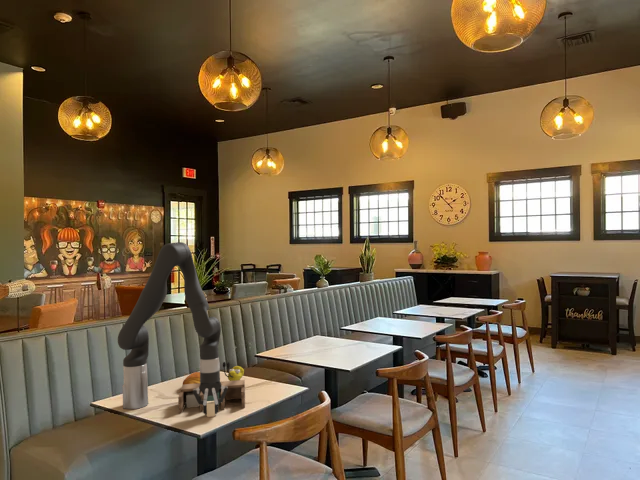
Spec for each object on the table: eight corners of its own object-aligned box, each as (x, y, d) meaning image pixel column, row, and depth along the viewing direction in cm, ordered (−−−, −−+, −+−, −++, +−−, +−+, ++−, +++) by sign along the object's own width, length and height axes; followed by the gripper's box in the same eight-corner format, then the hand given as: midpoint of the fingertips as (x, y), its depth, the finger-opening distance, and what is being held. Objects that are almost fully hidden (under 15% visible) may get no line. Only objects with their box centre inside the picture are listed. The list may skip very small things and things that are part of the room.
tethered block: (204, 417, 180) (203, 404, 180) (208, 401, 197) (207, 389, 197) (217, 416, 180) (217, 403, 180) (220, 400, 198) (219, 388, 198)
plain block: (186, 407, 191) (186, 395, 191) (188, 403, 196) (187, 391, 196) (199, 406, 192) (198, 394, 192) (200, 402, 197) (200, 390, 197)
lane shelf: (178, 413, 185) (178, 394, 185) (183, 402, 198) (182, 384, 198) (244, 407, 188) (244, 389, 188) (245, 397, 202) (244, 379, 202)
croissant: (178, 397, 211) (176, 380, 210) (192, 382, 226) (190, 366, 225) (209, 397, 209) (207, 380, 208) (220, 381, 224) (218, 365, 223)
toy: (248, 358, 218) (231, 362, 204) (247, 389, 216) (230, 395, 202) (236, 357, 220) (219, 361, 206) (235, 388, 218) (218, 394, 205)
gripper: (190, 373, 177) (191, 419, 177) (227, 370, 179) (229, 415, 179) (192, 368, 184) (193, 412, 184) (228, 365, 186) (230, 408, 186)
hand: (211, 413), depth 182 cm, fingers closed on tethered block, 3 cm apart
